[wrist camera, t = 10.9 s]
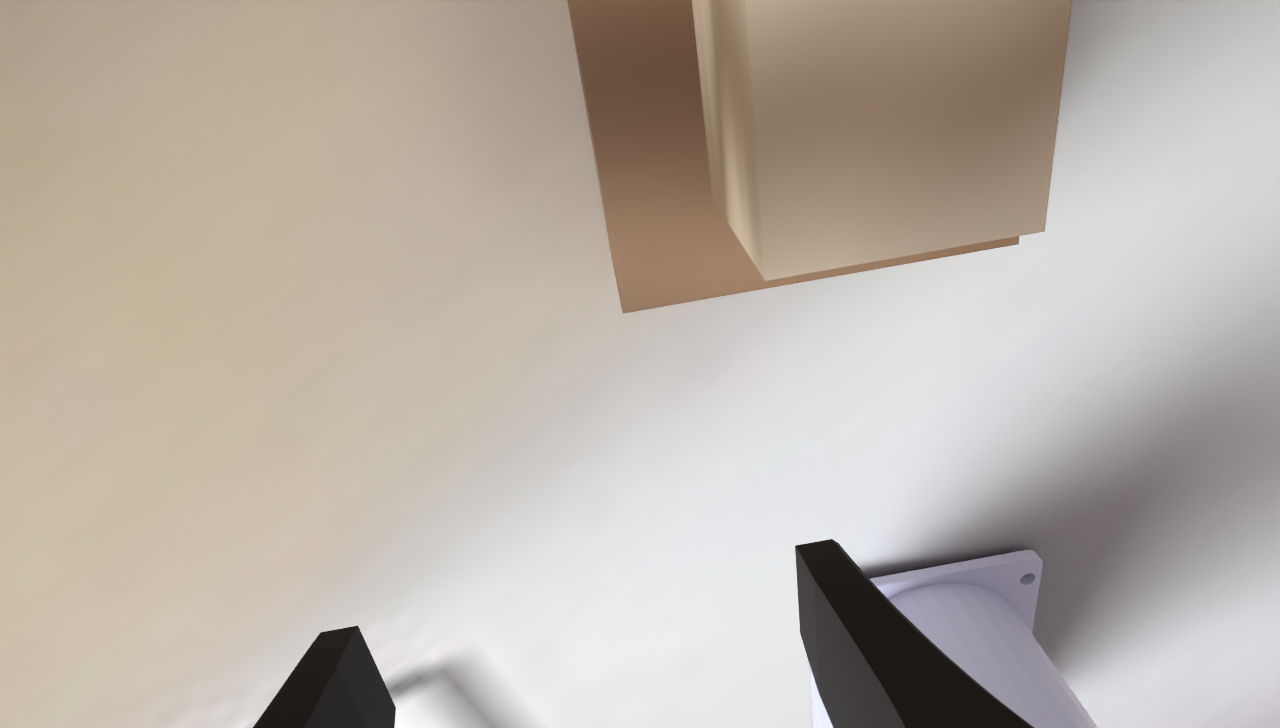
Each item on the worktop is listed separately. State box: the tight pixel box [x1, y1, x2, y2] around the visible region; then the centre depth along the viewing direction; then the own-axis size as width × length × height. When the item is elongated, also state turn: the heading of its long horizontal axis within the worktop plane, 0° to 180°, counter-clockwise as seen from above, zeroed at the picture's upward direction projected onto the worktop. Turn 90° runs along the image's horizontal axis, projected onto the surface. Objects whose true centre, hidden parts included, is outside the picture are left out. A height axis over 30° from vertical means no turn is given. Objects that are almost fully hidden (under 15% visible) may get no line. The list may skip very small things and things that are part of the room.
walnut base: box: [568, 0, 1019, 313], centre depth 16 cm, size 9×9×3 cm
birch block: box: [692, 0, 1072, 281], centre depth 13 cm, size 4×4×4 cm
